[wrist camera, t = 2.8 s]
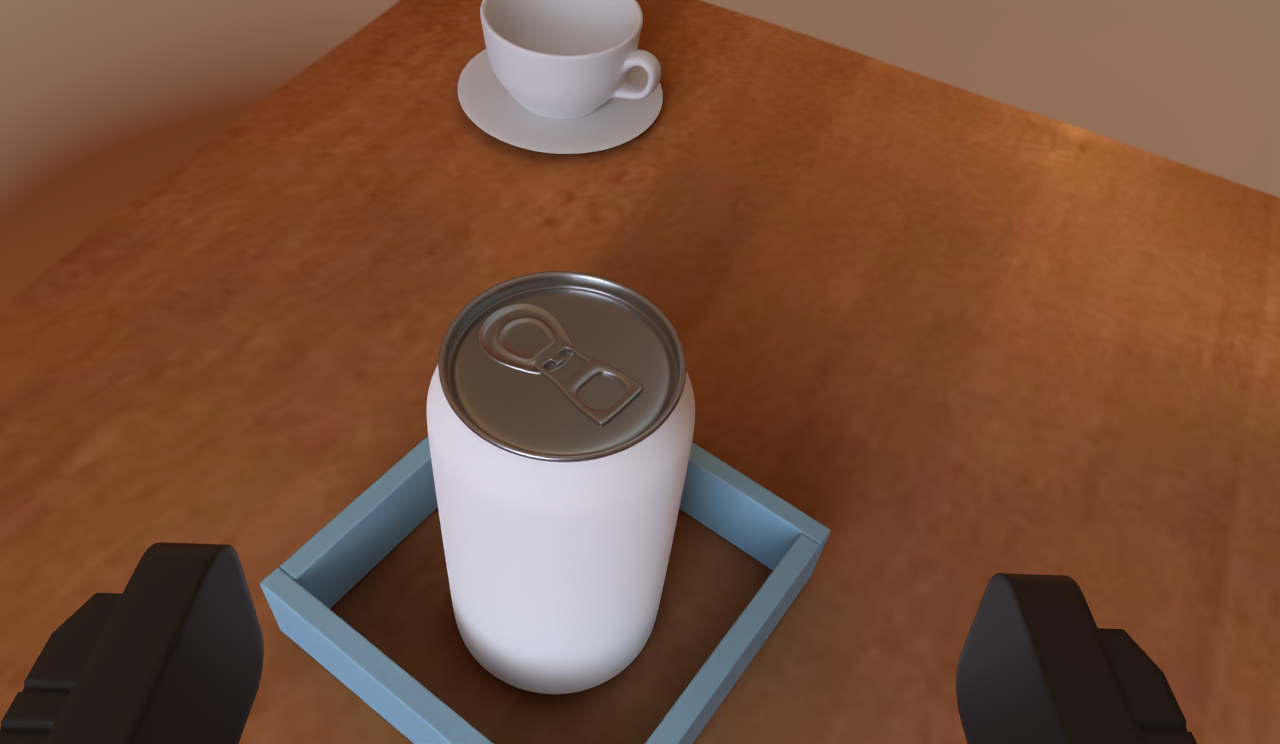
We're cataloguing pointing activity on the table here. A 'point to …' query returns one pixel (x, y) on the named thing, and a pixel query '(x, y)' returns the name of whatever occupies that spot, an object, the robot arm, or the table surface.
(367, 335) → the table surface
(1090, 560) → the table surface
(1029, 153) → the table surface
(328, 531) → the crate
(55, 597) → the table surface
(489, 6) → the teacup
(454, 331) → the can
